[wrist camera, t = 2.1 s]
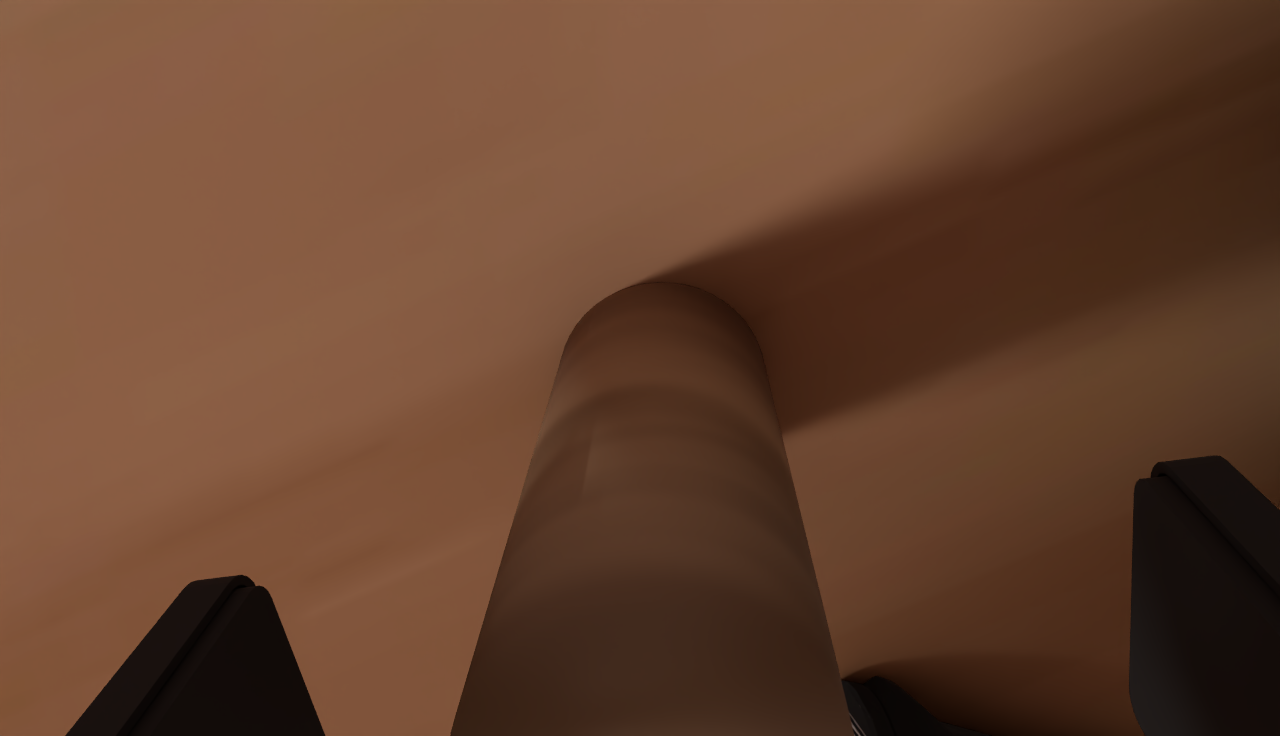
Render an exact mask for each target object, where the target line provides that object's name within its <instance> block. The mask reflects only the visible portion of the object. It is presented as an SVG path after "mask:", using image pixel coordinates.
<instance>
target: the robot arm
mask: <svg viewBox="0 0 1280 736" xmlns="http://www.w3.org/2000/svg"><path fill="white" fill-rule="evenodd" d="M1129 692H1130V698H1131V703H1132V707H1133V711H1134V713H1135V716H1136V719H1137V721H1138V723H1139V725H1140V727H1141V729H1142V731H1143V732H1144V734H1145V736H1280V510H1279V509H1278V508H1277V507H1276V506H1274V505H1273V504H1272V503H1271V502H1270V501H1269V500H1268V499H1267V498H1266V497H1265V496H1264V495H1263V494H1262V493H1261V492H1260V491H1259V490H1258V489H1257V488H1255V487H1254V486H1253V485H1252V484H1251V483H1250V482H1249V481H1248V480H1247V479H1246V478H1245V477H1244V476H1243V475H1242V474H1241V473H1240V472H1239V471H1238V470H1236V469H1235V468H1234V467H1233V466H1232V465H1231V464H1230V463H1229V462H1228V461H1227V460H1225V459H1224V458H1222V457H1221V456H1206V457H1198V458H1190V459H1182V460H1174V461H1166V462H1158V463H1157V464H1156V465H1155V466H1154V467H1153V470H1152V472H1151V478H1145V479H1139V480H1138V481H1137V482H1136V485H1135V489H1134V509H1133V549H1132V589H1131V629H1130V669H1129ZM66 736H325V734H324V731H323V729H322V726H321V723H320V721H319V718H318V716H317V713H316V711H315V708H314V705H313V703H312V700H311V698H310V695H309V693H308V690H307V687H306V685H305V682H304V680H303V677H302V675H301V672H300V670H299V667H298V664H297V662H296V659H295V657H294V654H293V652H292V649H291V646H290V644H289V641H288V639H287V636H286V634H285V631H284V628H283V626H282V623H281V621H280V618H279V616H278V613H277V610H276V608H275V605H274V603H273V600H272V598H271V596H270V594H269V592H268V591H267V590H266V589H265V588H264V587H262V586H255V584H254V582H253V581H252V580H251V579H250V578H249V577H247V576H244V575H237V576H229V577H221V578H213V579H204V580H197V581H193V582H191V583H189V584H188V585H187V586H186V587H185V588H184V589H183V590H182V591H181V593H180V594H179V595H178V596H177V598H176V599H175V600H174V601H173V603H172V604H171V605H170V606H169V608H168V609H167V610H166V611H165V613H164V614H163V615H162V616H161V618H160V619H159V620H158V621H157V623H156V624H155V625H154V626H153V628H152V629H151V630H150V631H149V632H148V634H147V635H146V636H145V637H144V639H143V640H142V641H141V642H140V644H139V645H138V646H137V647H136V649H135V650H134V651H133V652H132V654H131V655H130V656H129V657H128V659H127V660H126V661H125V662H124V664H123V665H122V666H121V667H120V669H119V670H118V671H117V672H116V673H115V675H114V676H113V677H112V678H111V680H110V681H109V682H108V683H107V685H106V686H105V687H104V688H103V690H102V691H101V692H100V693H99V695H98V696H97V697H96V698H95V700H94V701H93V702H92V703H91V705H90V706H89V707H88V708H87V709H86V711H85V712H84V713H83V714H82V716H81V717H80V718H79V719H78V721H77V722H76V723H75V724H74V726H73V727H72V728H71V729H70V731H69V732H68V733H67V734H66Z"/></svg>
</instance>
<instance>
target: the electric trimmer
mask: <svg viewBox="0 0 1280 736" xmlns="http://www.w3.org/2000/svg"><path fill="white" fill-rule="evenodd" d="M841 682H842V686H843V690H844V694H845V699H846V703H847V707H848V711H849V715H850V719H851V723H852V727H853V732H854V736H990V735H987V734H983V733H979V732H976V731H972V730H968V729H965V728H961V727H957V726H954V725H950V724H947V723H943V722H939V721H938V720H937V719H936V718H935V717H934V716H933V715H932V714H930V713H929V712H928V711H927V710H926V709H925V708H924V707H923V706H922V705H920V704H919V703H918V702H917V701H916V700H915V699H913V698H912V697H911V696H910V695H909V694H908V693H906V692H905V691H904V690H903V689H902V688H900V687H899V686H898V685H896V684H895V683H893V682H892V681H889V680H887V679H884V678H881V677H879V676H875V677H873V678H871V679H870V680H869V681H867V682H866V683H865V684H864V685H862V684H858V683H853V682H848V681H843V680H842V681H841Z"/></svg>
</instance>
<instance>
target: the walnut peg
mask: <svg viewBox="0 0 1280 736" xmlns="http://www.w3.org/2000/svg"><path fill="white" fill-rule="evenodd" d="M451 736H854V732H853V727H852V723H851V719H850V715H849V711H848V707H847V703H846V699H845V694H844V690H843V686H842V682H841V678H840V674H839V670H838V666H837V661H836V657H835V653H834V649H833V645H832V641H831V637H830V633H829V628H828V624H827V620H826V616H825V612H824V608H823V604H822V600H821V595H820V591H819V587H818V583H817V579H816V575H815V571H814V567H813V563H812V558H811V554H810V550H809V546H808V542H807V538H806V534H805V530H804V525H803V521H802V517H801V513H800V509H799V505H798V501H797V497H796V492H795V488H794V484H793V480H792V476H791V472H790V468H789V464H788V459H787V455H786V451H785V447H784V443H783V439H782V435H781V431H780V427H779V422H778V418H777V414H776V410H775V406H774V402H773V398H772V394H771V389H770V385H769V381H768V377H767V373H766V369H765V365H764V361H763V356H762V353H761V350H760V347H759V345H758V342H757V340H756V338H755V336H754V334H753V332H752V330H751V329H750V328H749V326H748V325H747V324H746V322H745V321H744V319H743V318H742V317H741V316H740V315H739V314H738V313H737V312H736V311H735V310H734V309H733V308H731V307H730V306H729V305H728V304H726V303H725V302H724V301H722V300H720V299H719V298H717V297H715V296H714V295H712V294H710V293H707V292H705V291H703V290H701V289H698V288H694V287H691V286H687V285H682V284H676V283H648V284H641V285H637V286H633V287H629V288H626V289H624V290H621V291H618V292H616V293H614V294H612V295H610V296H608V297H606V298H605V299H603V300H602V301H601V302H599V303H598V304H596V305H595V306H594V307H593V308H592V309H590V310H589V311H588V312H587V313H586V314H585V315H584V316H583V317H582V319H581V320H580V321H579V322H578V323H577V325H576V326H575V328H574V330H573V331H572V333H571V334H570V336H569V338H568V341H567V343H566V345H565V348H564V351H563V354H562V358H561V361H560V365H559V368H558V371H557V375H556V378H555V381H554V385H553V388H552V392H551V395H550V398H549V402H548V405H547V408H546V412H545V415H544V419H543V422H542V425H541V429H540V432H539V435H538V439H537V442H536V446H535V449H534V452H533V456H532V459H531V462H530V466H529V469H528V473H527V476H526V479H525V483H524V486H523V489H522V493H521V496H520V500H519V503H518V506H517V510H516V513H515V516H514V520H513V523H512V527H511V530H510V533H509V537H508V540H507V543H506V547H505V550H504V554H503V557H502V560H501V564H500V567H499V570H498V574H497V577H496V581H495V584H494V587H493V591H492V594H491V597H490V601H489V604H488V608H487V611H486V614H485V618H484V621H483V624H482V628H481V631H480V635H479V638H478V641H477V645H476V648H475V651H474V655H473V658H472V662H471V665H470V668H469V672H468V675H467V678H466V682H465V685H464V689H463V692H462V695H461V699H460V702H459V705H458V709H457V712H456V716H455V719H454V723H453V727H452V730H451Z"/></svg>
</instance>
